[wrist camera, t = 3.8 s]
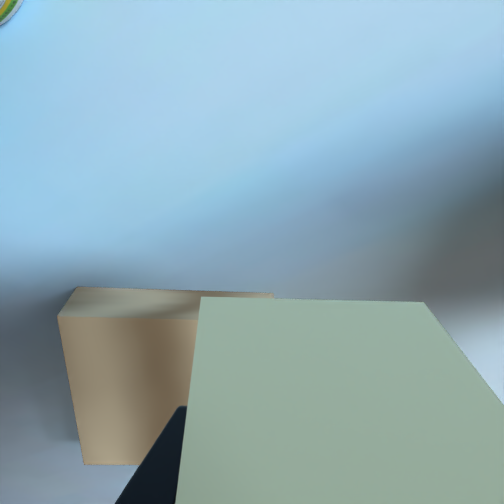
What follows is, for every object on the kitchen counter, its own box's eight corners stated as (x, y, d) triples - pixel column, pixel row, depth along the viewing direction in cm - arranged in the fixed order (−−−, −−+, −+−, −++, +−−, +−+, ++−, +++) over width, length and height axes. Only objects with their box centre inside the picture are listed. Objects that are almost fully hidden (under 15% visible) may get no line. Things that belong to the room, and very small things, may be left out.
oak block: (272, 288, 21) (278, 321, 19) (259, 422, 26) (262, 465, 23) (80, 282, 21) (57, 316, 18) (100, 420, 25) (84, 464, 22)
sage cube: (423, 302, 9) (611, 544, 5) (380, 452, 11) (477, 715, 7) (201, 296, 9) (169, 551, 4) (200, 452, 11) (179, 728, 6)
